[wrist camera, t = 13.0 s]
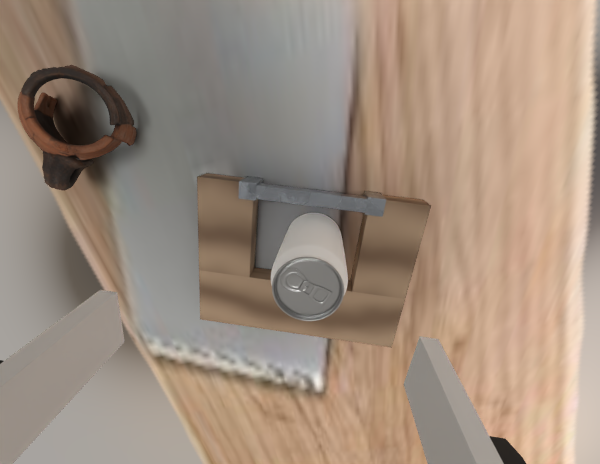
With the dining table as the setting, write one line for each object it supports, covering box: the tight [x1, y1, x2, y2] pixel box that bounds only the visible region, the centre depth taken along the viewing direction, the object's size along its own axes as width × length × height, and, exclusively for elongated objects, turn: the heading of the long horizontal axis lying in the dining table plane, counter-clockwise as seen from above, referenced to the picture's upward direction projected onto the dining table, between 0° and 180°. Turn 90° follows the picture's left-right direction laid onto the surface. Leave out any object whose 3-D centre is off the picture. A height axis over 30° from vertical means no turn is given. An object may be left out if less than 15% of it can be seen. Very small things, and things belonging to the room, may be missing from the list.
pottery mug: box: [18, 65, 136, 190], centre depth 29 cm, size 12×10×8 cm
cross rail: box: [238, 176, 386, 217], centre depth 30 cm, size 2×15×3 cm, turn 83°
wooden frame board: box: [197, 173, 431, 348], centre depth 33 cm, size 18×24×2 cm
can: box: [271, 213, 348, 321], centre depth 27 cm, size 6×6×12 cm
